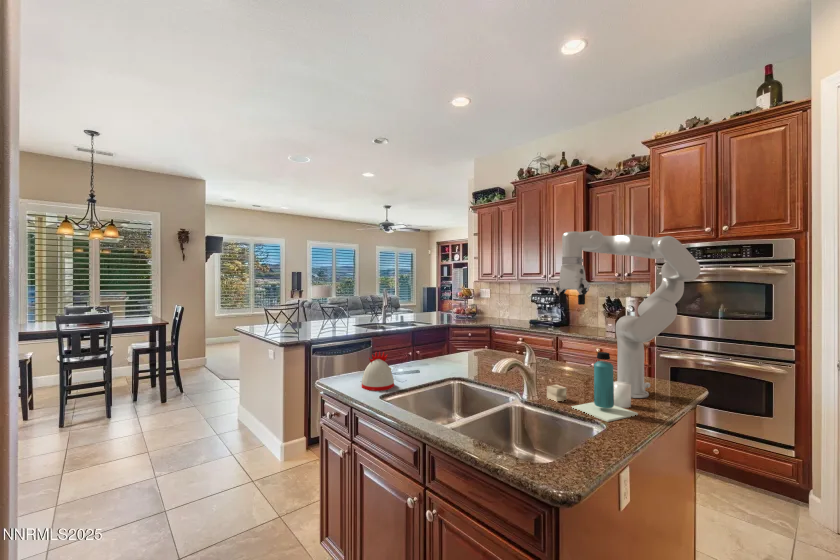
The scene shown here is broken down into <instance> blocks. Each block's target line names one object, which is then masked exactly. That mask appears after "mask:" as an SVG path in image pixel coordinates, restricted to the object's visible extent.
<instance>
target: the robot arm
mask: <svg viewBox="0 0 840 560" xmlns="http://www.w3.org/2000/svg"><path fill="white" fill-rule="evenodd" d="M561 243H562V244H561V246H562V247H561V265H560V269H559V270H560V271H559V280H558V281H556V282H555V283H554V286H555V290H556V291H557V293H558V298H559V299H558V301H559V302H558V303H559V304H566V303H567V293H566V292H567V291H568V290H571V291H573V290H575V291H577V292H578V295H577V304H578V305H580V306H582V305H584V306H585V305H586V295H587V293H588V292H589V291H590V288H591V283H590V282H588V281H587V280H586V279H587V278H586V271H585V266H584V264H583V263H584V258H583V251H584V252H588V253H589V252H590V253H598V254H608V255H617V256H626V257H627V256H629V257H639V258H645V259H653V260H654V259H655V260H660V259H661V260H662V259H664V260H665V261H666V262H665V263H664V264H663V265H662V266H661V269H660V273H661V283H660V285H659V287H657V289H656V290H655V291H654V292H652V293H651V294H650V295H649V296H648V297H646V298H645V299H643V301H642V302H641V303H640V304H639V305H638V307H637V313H638V314H637V315H639V316H636V315H623V316H621V317H620V318H619V319H618V320H617V321H616V323H615V336H616V341H617V342H616V343H617V354H616V355H617V357H616V358H617V359H616V360H617V366H616V367H617V379H616V381H621V382H627V383H630V384H631V399H632V398H633V399H646V398H648V397H649V395H650V394H649V392H648V391H647V390H646V389H647V388H650V387H651V386H652V385H651V383H650V382H645V346H644V343H648V342H650V341H651V340H653V339H655V338H656V337H657V336H658V335H660V333H662V332H663V331H664V330H665V329H667V328H668V327H669V326H670V325H671V324H672V323H673V322H674V321H675V320H676V317H677V314H678V308H677V306H676V304H677V303H678V302H679V301H680V300H681V298H682V297H683V294H684V291H685V282H686V281H687V282H690V281H693V280H696V279H697V278H698V277H699V276H700V274H701V270H702V269H701V266H700V263H699V261H698V260H697V259H696V257H694V256H693V255H692V254H691V253H690V251H689V250H688V249H687V248H686V247H685V246H684V245H683V244H682V242H681V241H680V240H678V239H677V238H675V237H673V236H671V235H666V236H660V237H653V236H644V235H636V234H618V235H604V234H603V233H602V232H600V231H598V230H588V231H566V232H564V233H562V236H561Z"/></svg>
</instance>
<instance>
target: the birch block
mask: <svg viewBox="0 0 840 560" xmlns="http://www.w3.org/2000/svg"><path fill="white" fill-rule="evenodd" d="M547 398H548V399H547ZM546 399H547V400H549V399H551V400H554V401H556V402H557V401H562V402H565V401H564V400H566V401H567V387H566V386H565V387H564V386H562V385H559V384H553V385H552V384H551V385H546ZM551 400H550V401H551ZM554 401H553V402H554ZM556 402H555V403H556ZM557 403H558V402H557Z"/></svg>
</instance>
